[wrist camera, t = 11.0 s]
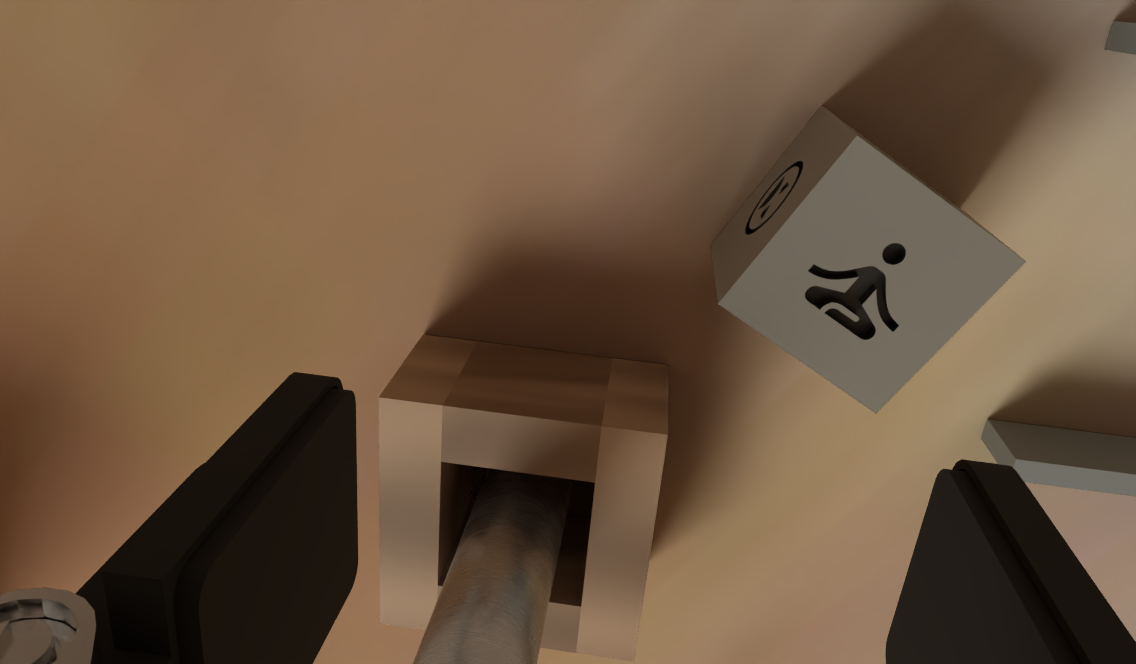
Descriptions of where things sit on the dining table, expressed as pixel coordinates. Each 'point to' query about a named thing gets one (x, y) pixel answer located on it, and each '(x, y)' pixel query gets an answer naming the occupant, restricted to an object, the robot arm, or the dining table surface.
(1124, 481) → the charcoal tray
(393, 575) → the walnut block
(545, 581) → the steel pin
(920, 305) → the dice cube
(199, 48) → the dining table surface
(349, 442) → the robot arm
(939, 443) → the dining table surface
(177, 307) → the dining table surface
